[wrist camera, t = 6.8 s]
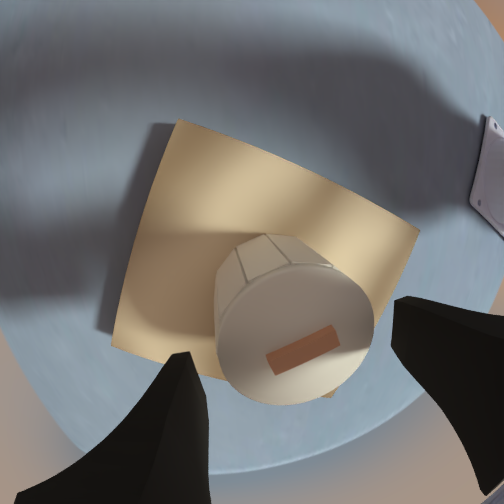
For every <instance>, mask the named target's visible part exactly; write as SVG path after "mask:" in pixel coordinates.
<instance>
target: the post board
mask: <svg viewBox="0 0 504 504" xmlns="http://www.w3.org/2000/svg"><path fill="white" fill-rule="evenodd" d="M419 232H420V230H419V229H418V228H416V227H414V226H413V225H411V224H409V223H408V222H406V221H404V220H403V219H401V218H399V217H397V216H396V215H394V214H392V213H390V212H389V211H387V210H385V209H383V208H382V207H380V206H378V205H376V204H374V203H373V202H371V201H369V200H367V199H365V198H363V197H361V196H360V195H358V194H356V193H354V192H352V191H350V190H348V189H346V188H344V187H342V186H340V185H338V184H336V183H334V182H332V181H330V180H328V179H326V178H324V177H322V176H320V175H318V174H316V173H314V172H312V171H309V170H307V169H305V168H303V167H301V166H299V165H296V164H294V163H292V162H290V161H287V160H285V159H283V158H281V157H278V156H276V155H274V154H271V153H269V152H267V151H264V150H262V149H259V148H257V147H255V146H252V145H250V144H247V143H245V142H242V141H240V140H237V139H234V138H232V137H229V136H226V135H224V134H221V133H218V132H216V131H213V130H210V129H207V128H205V127H202V126H199V125H196V124H193V123H190V122H187V121H184V120H181V119H178V120H177V123H176V125H175V127H174V130H173V132H172V135H171V137H170V139H169V142H168V144H167V147H166V149H165V152H164V155H163V157H162V160H161V162H160V165H159V168H158V170H157V173H156V176H155V179H154V182H153V184H152V187H151V190H150V193H149V196H148V199H147V202H146V205H145V208H144V211H143V214H142V218H141V221H140V224H139V227H138V231H137V234H136V238H135V241H134V245H133V248H132V252H131V256H130V259H129V263H128V267H127V271H126V275H125V279H124V283H123V287H122V292H121V296H120V301H119V306H118V310H117V315H116V320H115V325H114V331H113V336H112V342H111V346H113V347H116V348H118V349H121V350H124V351H126V352H129V353H132V354H135V355H138V356H141V357H144V358H147V359H150V360H153V361H156V362H159V363H162V364H165V363H166V362H167V360H168V359H169V357H170V356H171V355H172V354H174V353H181V352H187V351H190V353H191V356H192V359H193V361H194V364H195V367H196V370H197V373H198V374H201V375H205V376H209V377H213V378H217V379H221V380H225V381H227V379H226V378H225V376H224V374H223V372H222V370H221V367H220V364H219V358H218V357H217V354H216V343H215V323H214V289H215V278H216V274H217V270H218V269H219V268H220V266H221V265H222V264H223V262H224V261H225V260H226V258H227V257H228V256H229V254H230V253H231V251H232V250H233V249H234V248H235V249H237V248H236V246H238V245H240V244H242V243H245V242H247V241H249V240H251V239H254V238H256V237H258V236H260V235H263V234H264V235H265V236H266V234H275V235H286V236H295V237H296V238H299V239H300V240H301V241H303V242H304V243H305V244H307V245H308V246H309V247H311V248H312V249H313V250H315V251H316V252H317V253H318V254H320V255H321V256H322V257H324V258H325V259H326V260H328V261H329V262H330V263H332V264H333V265H334V266H335V267H337V268H338V269H339V270H340V271H342V272H343V273H344V274H345V275H347V276H348V277H349V278H350V279H352V280H353V281H354V282H355V283H356V284H358V285H359V286H360V287H361V288H362V290H363V291H364V292H365V294H366V295H367V297H368V299H369V301H370V303H371V306H372V309H373V314H374V328H375V326H376V324H377V322H378V320H379V319H380V317H381V315H382V313H383V311H384V309H385V307H386V305H387V303H388V301H389V299H390V297H391V295H392V293H393V291H394V289H395V287H396V285H397V283H398V281H399V279H400V277H401V274H402V272H403V270H404V268H405V266H406V263H407V261H408V259H409V256H410V254H411V252H412V249H413V247H414V245H415V242H416V240H417V237H418V235H419ZM338 387H339V386H338ZM338 387H337V388H338ZM337 388H335V389H334V390H332V391H330V392H329V393H327V394H325V395H323V396H321V397H326V398H331V397H332V396H333V394H334V393H335V391H336V390H337Z"/></svg>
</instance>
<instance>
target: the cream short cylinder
mask: <svg viewBox="0 0 504 504" xmlns="http://www.w3.org/2000/svg"><path fill="white" fill-rule="evenodd" d="M236 248H237V249H235V248H234V249H233V250H232V251H231V253H230V254H229V256H228V257H227V258H226V260H225V261H224V262H223V264H222V265H221V266H220V268H219V269H218V270H217V274H216V278H215V289H214V323H215V343H216V354H217V357H218V358H219V364H220V367H221V370H222V372H223V374H224V376H225V378H226V379H227V381H228V382H229V383H230V384H231V386H232V387H234V388H235V389H236V390H237V391H238V392H240V393H241V394H242V395H244V396H246V397H248V398H250V399H252V400H255V401H258V402H261V403H265V404H271V405H292V404H298V403H303V402H307V401H310V400H313V399H316V398H318V397H321V396H323V395H325V394H327V393H329V392H330V391H332V390H334V389H335V388H337V387H338V386H339V385H341V384H342V383H343V382H344V381H346V380H347V379H348V378H349V377H350V376H351V375H352V374H353V373H354V372H355V370H356V369H357V368H358V367H359V365H360V364H361V362H362V361H363V359H364V358H365V356H366V354H367V352H368V350H369V347H370V345H371V341H372V338H373V333H374V314H373V309H372V306H371V303H370V301H369V299H368V297H367V295H366V294H365V292H364V291H363V290H362V288H361V287H360V286H359V285H358V284H356V283H355V282H354V281H353V280H352V279H350V278H349V277H348V276H347V275H345V274H344V273H343V272H342V271H340V270H339V269H338V268H337V267H335V266H334V265H333V264H332V263H330V262H329V261H328V260H326V259H325V258H324V257H322V256H321V255H320V254H318V253H317V252H316V251H315V250H313V249H312V248H311V247H309V246H308V245H307V244H305V243H304V242H303V241H301V240H300V239H299V238H296V237H295V236H286V235H275V234H266V236H265V235H264V234H263V235H260V236H258V237H256V238H254V239H251V240H249V241H247V242H245V243H242V244H240V245H238V246H236Z"/></svg>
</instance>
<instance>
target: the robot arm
mask: <svg viewBox="0 0 504 504" xmlns="http://www.w3.org/2000/svg"><path fill="white" fill-rule="evenodd" d="M470 204H471V205H472V206H473V207H474V208H475V209H476V210H477V211H478V212H479V213H480V214H481V215H482V216H483V217H484V218H485V219H486V220H487V221H488V222H489V223H490V224H491V225H492V226H493V227H494V228H495V229H496V230H497V231H498V232H499V233H500V234H501V235H502V236H503V237H504V131H503V130H502V128H501V127H500V126H499V125H498V123H497V122H496V121H495V120H494V118H493V117H492V116H488V117H487V119H486V126H485V132H484V138H483V144H482V149H481V154H480V159H479V163H478V167H477V172H476V176H475V180H474V184H473V187H472V191H471V194H470ZM391 347H392V349H393V351H394V352H395V354H396V355H397V357H398V358H399V360H400V361H401V363H402V364H403V366H404V367H405V368H406V369H407V370H408V372H409V373H410V374H411V375H412V376H413V377H414V378H415V379H416V381H417V382H418V383H419V384H420V385H421V386H422V387H423V388H424V389H425V391H426V392H427V393H428V394H429V395H430V396H431V397H432V398H433V400H434V401H435V402H436V403H437V404H438V406H439V407H440V408H441V409H442V410H443V412H444V414H445V415H446V417H447V418H448V420H449V421H450V423H451V425H452V426H453V428H454V430H455V431H456V433H457V435H458V437H459V438H460V440H461V442H462V444H463V446H464V448H465V450H466V452H467V455H468V457H469V459H470V461H471V464H472V466H473V469H474V472H475V475H476V477H477V480H478V484H479V487H480V490H481V491H482V493H483V494H484V495H485V496H487V495H488V494H489V493H490V492H491V491H492V490H494V489H495V488H496V487H497V486H498V485H499V484H500V483H501V482H502V481H504V316H500V315H492V314H486V313H481V312H476V311H471V310H466V309H462V308H458V307H454V306H450V305H446V304H442V303H438V302H435V301H431V300H426V299H422V298H417V297H412V296H406V297H403V298H400V299H397V300H394V316H393V328H392V339H391ZM208 447H209V418H208V409H207V400H206V394H205V392H204V389H203V386H202V384H201V381H200V378H199V376H198V373H197V370H196V367H195V364H194V361H193V359H192V356H191V353H190V351H187V352H181V353H174V354H172V355H171V356H170V357H169V359H168V360H167V362H166V363H165V364H164V366H163V367H162V369H161V370H160V372H159V373H158V375H157V376H156V378H155V379H154V381H153V382H152V384H151V385H150V386H149V388H148V389H147V391H146V392H145V393H144V395H143V396H142V397H141V399H140V400H139V401H138V402H137V404H136V405H135V406H134V407H133V409H132V410H131V411H130V412H129V414H128V415H127V416H126V417H125V418H124V419H123V421H122V422H121V423H120V424H119V425H118V426H117V427H116V428H115V429H114V430H113V431H112V432H111V433H110V434H109V435H108V436H107V437H106V438H105V439H104V440H103V441H102V442H100V443H99V444H98V445H97V446H96V447H94V448H93V449H92V450H91V451H89V452H88V453H87V454H86V455H85V456H83V457H82V458H81V459H79V460H78V461H77V462H76V463H74V464H72V465H71V466H70V467H68V468H66V469H65V470H63V471H61V472H60V473H58V474H57V475H55V476H53V477H51V478H49V479H48V480H46V481H44V482H42V483H40V484H37V485H35V486H33V487H31V488H28V489H26V490H24V491H22V492H19V493H17V496H16V499H15V502H14V504H211V498H210V491H209V478H208ZM481 504H504V484H503V485H502V486H501V487H500V488H499V489H498V490H497V491H496V492H494V493H493V494H492V495H491V496H490V497H489V498H488V499H486V500H485V501H484V502H483V503H481Z"/></svg>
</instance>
